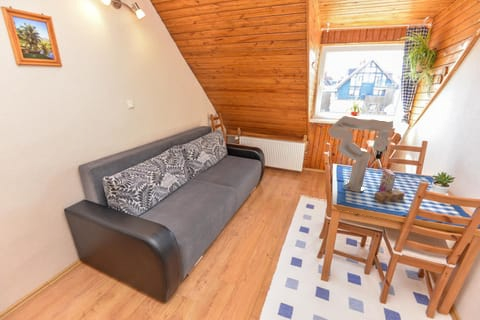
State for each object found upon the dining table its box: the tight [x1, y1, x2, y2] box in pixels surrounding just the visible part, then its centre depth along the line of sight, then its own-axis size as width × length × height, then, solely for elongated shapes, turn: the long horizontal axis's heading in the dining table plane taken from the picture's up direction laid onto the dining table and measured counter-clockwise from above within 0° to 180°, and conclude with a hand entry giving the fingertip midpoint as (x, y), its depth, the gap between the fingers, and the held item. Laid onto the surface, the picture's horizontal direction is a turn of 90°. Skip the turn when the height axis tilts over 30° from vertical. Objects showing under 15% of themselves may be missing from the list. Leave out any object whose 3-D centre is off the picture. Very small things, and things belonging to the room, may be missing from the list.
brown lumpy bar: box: [373, 189, 406, 203], centre depth 156 cm, size 20×6×5 cm, turn 106°
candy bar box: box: [378, 168, 397, 192], centre depth 164 cm, size 11×5×16 cm, turn 165°
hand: (377, 158), depth 172 cm, fingers closed
